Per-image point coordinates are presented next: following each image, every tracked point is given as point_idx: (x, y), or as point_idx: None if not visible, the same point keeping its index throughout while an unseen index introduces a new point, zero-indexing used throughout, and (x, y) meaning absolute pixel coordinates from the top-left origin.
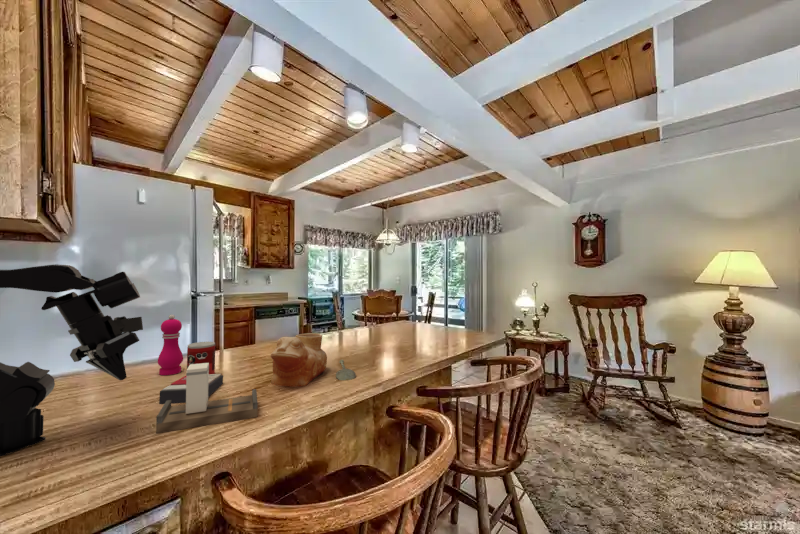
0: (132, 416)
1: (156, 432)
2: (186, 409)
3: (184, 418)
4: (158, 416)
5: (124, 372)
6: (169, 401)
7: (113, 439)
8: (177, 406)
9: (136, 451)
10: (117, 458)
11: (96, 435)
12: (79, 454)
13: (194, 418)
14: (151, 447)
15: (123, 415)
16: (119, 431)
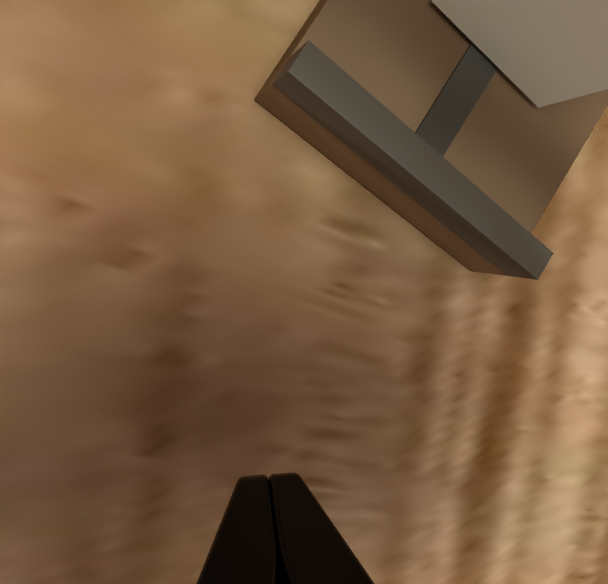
0: (51, 246)
1: (472, 268)
2: (564, 98)
3: (566, 142)
4: (541, 269)
5: (339, 550)
6: (332, 71)
7: (357, 433)
8: (338, 35)
9: (564, 396)
10: (558, 463)
11: (217, 485)
12: (393, 570)
13: (602, 107)
14: (582, 343)
15: None
16: (271, 385)
